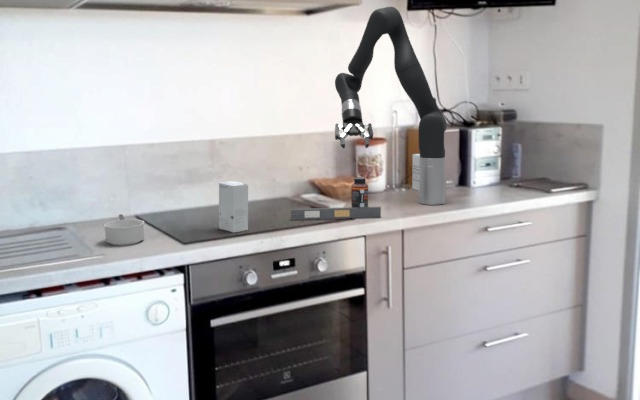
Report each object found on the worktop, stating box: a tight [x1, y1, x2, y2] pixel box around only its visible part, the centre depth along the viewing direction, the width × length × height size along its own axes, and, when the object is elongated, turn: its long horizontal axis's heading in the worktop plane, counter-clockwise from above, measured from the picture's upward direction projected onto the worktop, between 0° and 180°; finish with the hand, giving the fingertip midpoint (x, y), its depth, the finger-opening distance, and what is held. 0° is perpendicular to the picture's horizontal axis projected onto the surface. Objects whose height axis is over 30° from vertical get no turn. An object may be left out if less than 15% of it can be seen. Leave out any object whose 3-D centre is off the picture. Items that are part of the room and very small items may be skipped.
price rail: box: [290, 206, 382, 221], centre depth 213 cm, size 30×2×4 cm, turn 94°
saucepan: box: [103, 214, 146, 246], centre depth 190 cm, size 12×20×6 cm, turn 21°
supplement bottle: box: [350, 177, 369, 207], centre depth 228 cm, size 6×6×11 cm
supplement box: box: [411, 153, 420, 192], centre depth 267 cm, size 9×9×15 cm
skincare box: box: [218, 180, 249, 233], centre depth 199 cm, size 8×6×15 cm
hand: (355, 146), depth 237 cm, fingers open, 8 cm apart
